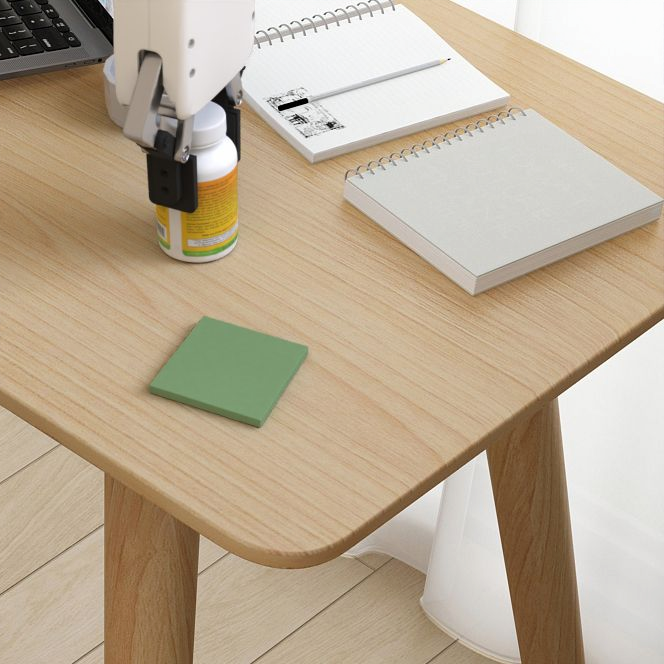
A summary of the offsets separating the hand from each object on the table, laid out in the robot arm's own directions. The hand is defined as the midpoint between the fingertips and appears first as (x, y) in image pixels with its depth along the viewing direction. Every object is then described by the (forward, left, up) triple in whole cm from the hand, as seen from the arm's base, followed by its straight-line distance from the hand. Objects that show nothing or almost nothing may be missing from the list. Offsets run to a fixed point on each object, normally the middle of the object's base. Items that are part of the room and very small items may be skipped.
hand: (196, 179), depth 77 cm
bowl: (-10, +15, -5) cm, 19 cm away
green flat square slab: (+8, -11, -5) cm, 14 cm away
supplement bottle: (0, 0, -5) cm, 5 cm away
